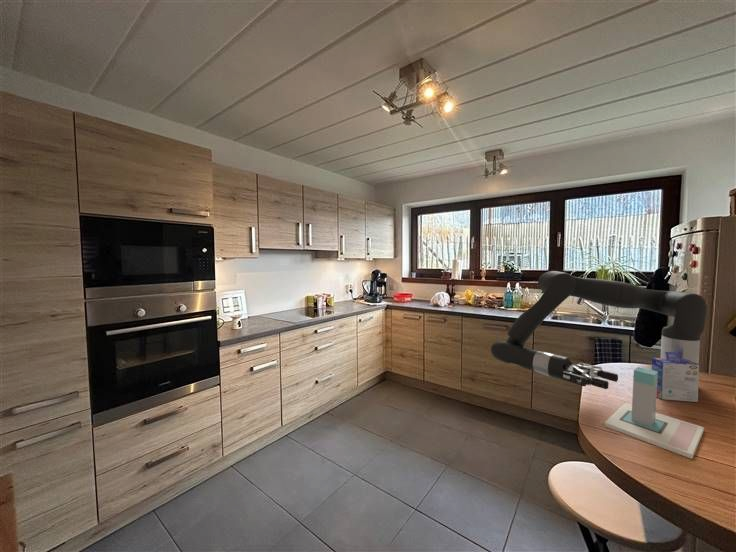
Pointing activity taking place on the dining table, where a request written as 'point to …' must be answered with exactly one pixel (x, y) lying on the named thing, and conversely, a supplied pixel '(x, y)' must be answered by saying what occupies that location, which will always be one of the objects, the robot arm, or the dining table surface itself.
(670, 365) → the ink cartridge box
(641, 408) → the teal-capped square post
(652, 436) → the picture board
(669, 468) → the dining table surface
